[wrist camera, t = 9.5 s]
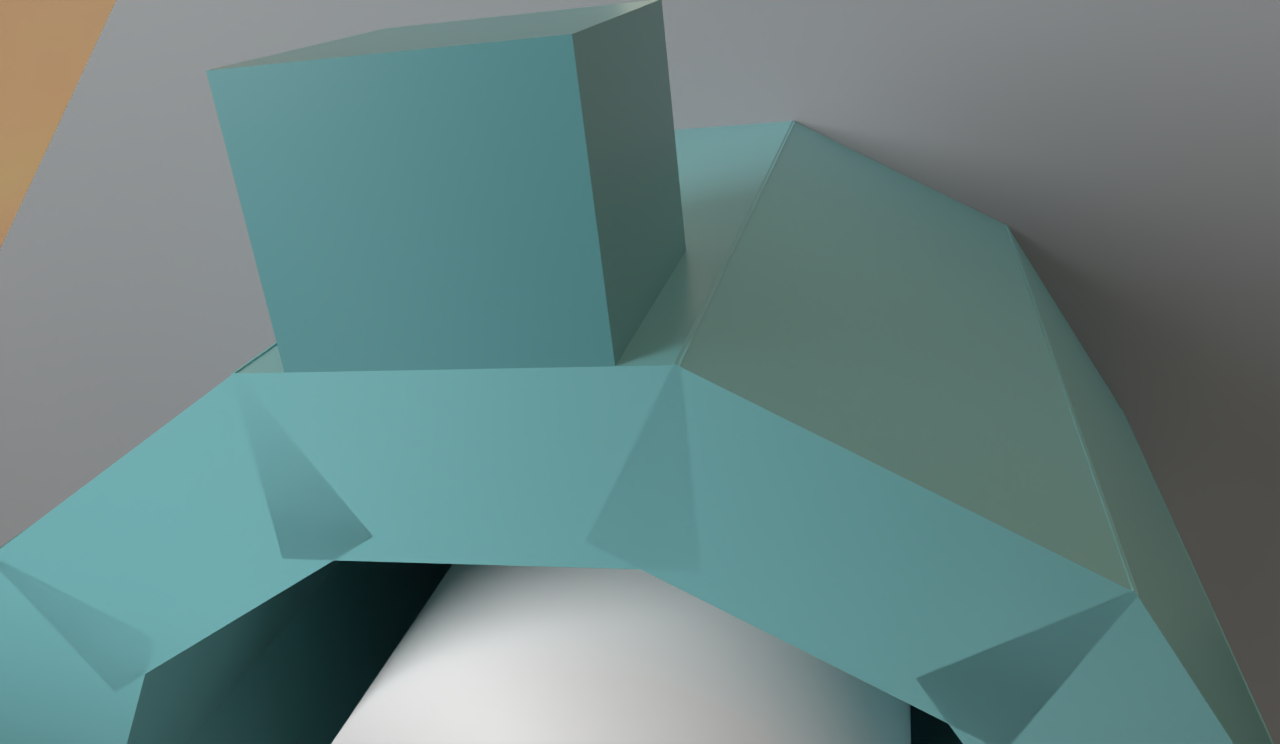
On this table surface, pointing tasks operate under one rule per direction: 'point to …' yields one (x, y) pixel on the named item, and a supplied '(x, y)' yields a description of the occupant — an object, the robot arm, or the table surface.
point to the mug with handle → (612, 417)
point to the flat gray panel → (701, 97)
